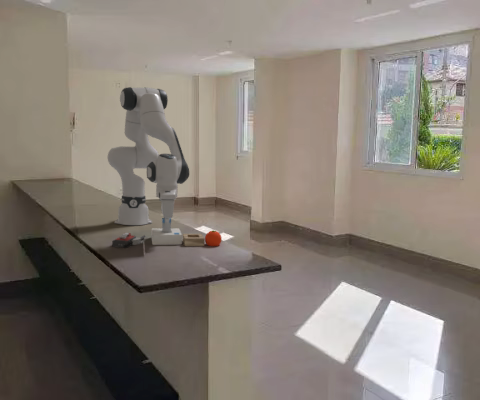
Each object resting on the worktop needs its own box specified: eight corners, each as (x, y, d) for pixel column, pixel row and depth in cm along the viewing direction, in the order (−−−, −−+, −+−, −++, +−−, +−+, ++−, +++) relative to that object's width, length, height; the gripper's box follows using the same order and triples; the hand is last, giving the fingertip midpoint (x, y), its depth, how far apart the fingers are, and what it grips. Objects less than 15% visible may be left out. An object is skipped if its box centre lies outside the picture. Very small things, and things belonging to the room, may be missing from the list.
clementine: (205, 244, 209) (206, 228, 208) (222, 245, 209) (222, 228, 208) (203, 248, 201) (204, 231, 200) (220, 249, 201) (221, 232, 200)
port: (151, 239, 215) (151, 227, 214) (178, 239, 217) (179, 227, 216) (152, 247, 201) (152, 234, 200) (181, 246, 203) (181, 234, 203)
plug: (162, 234, 210) (162, 217, 209) (170, 234, 210) (170, 217, 210) (162, 235, 206) (162, 219, 205) (170, 235, 207) (171, 219, 206)
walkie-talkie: (131, 249, 197) (147, 239, 217) (131, 238, 197) (147, 229, 216) (110, 248, 198) (127, 238, 218) (110, 237, 198) (127, 228, 217)
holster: (182, 242, 210) (182, 233, 210) (201, 242, 212) (201, 233, 212) (184, 248, 201) (185, 238, 200) (204, 248, 202) (204, 238, 202)
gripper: (158, 190, 216) (157, 221, 217) (160, 195, 196) (159, 229, 197) (172, 190, 217) (172, 221, 219) (176, 195, 197) (175, 229, 199)
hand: (166, 225), depth 208 cm, fingers closed on plug, 3 cm apart
